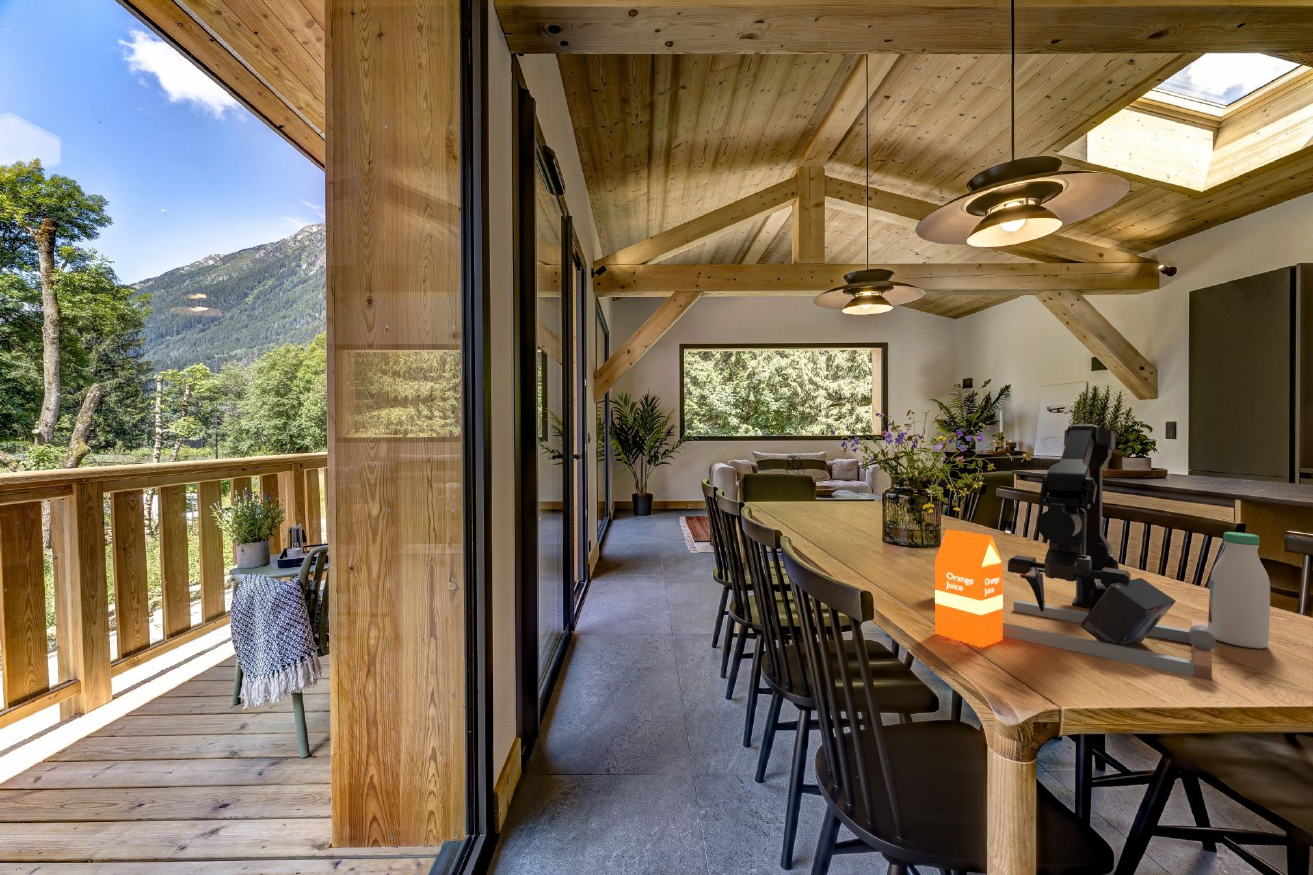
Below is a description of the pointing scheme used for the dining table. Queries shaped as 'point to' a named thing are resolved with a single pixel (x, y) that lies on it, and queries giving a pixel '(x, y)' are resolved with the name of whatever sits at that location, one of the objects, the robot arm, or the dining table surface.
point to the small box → (1127, 613)
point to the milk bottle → (1240, 594)
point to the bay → (1196, 636)
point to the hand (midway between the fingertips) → (1065, 615)
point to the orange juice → (969, 589)
